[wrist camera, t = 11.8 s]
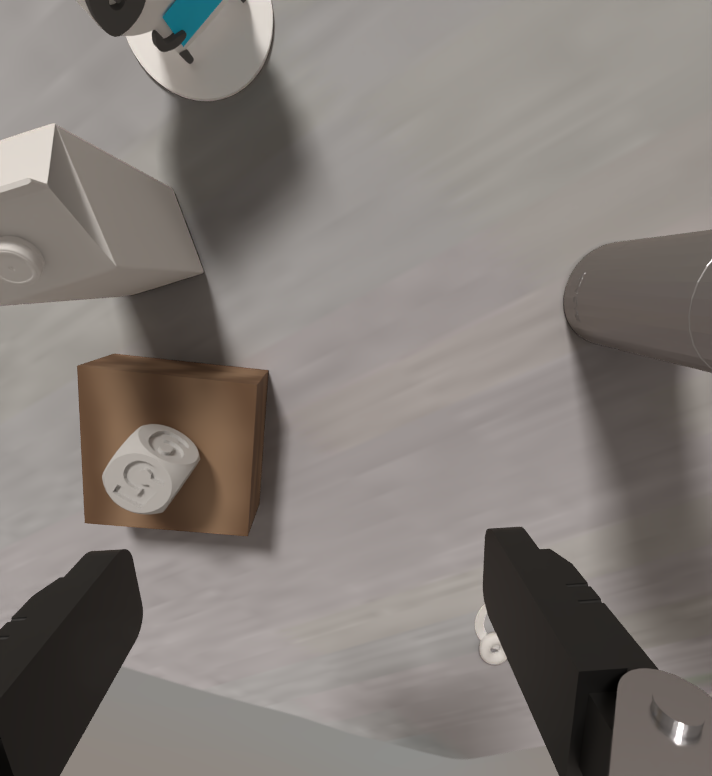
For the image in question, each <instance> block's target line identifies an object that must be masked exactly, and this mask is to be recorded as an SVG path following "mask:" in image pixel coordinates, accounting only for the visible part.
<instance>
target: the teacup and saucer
mask: <svg viewBox="0 0 712 776" xmlns="http://www.w3.org/2000/svg"><path fill="white" fill-rule="evenodd" d="M486 614H487V610H486V606H485V604H484V605H483V606H482V607H481V609H480V610H479V612H478V614H477V616H476V619H475V631H476V634H477V636H478V638H479V639H480V640H481V642H480V646H479V651H480V655H481V657H482V659H483V660H484V661H485V662H487V663H488V664H492V665H497V664H501V663H503V662H504V661H505V660H506V659H507V657H506V655H505V652H504V650H503V648H502V646H501V643H500V641H499V639H498V637H497V634H496V632H492V633H489V634H487V633H486V631H485V628H484V619H485V616H486ZM491 648H493V649H496V650H497V651H496V652H491V651H490V649H491Z"/></svg>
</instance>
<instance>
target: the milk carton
mask: <svg viewBox="0 0 712 776" xmlns="http://www.w3.org/2000/svg"><path fill="white" fill-rule="evenodd" d="M203 272H204V271H203V268H202V265H201V263H200V260H199V257H198V255H197V252H196V249H195V247H194V244H193V241H192V239H191V236H190V233H189V231H188V228H187V225H186V223H185V220H184V217H183V215H182V212H181V209H180V207H179V204H178V202H177V199H176V196H175V194H174V191H173V189H172V188H171V187H169V186H167V185H165V184H164V183H162V182H160V181H158V180H156V179H154V178H153V177H151V176H149V175H147V174H145V173H144V172H142V171H140V170H138V169H136V168H134V167H133V166H131V165H129V164H127V163H125V162H123V161H122V160H120V159H118V158H116V157H114V156H113V155H111V154H109V153H107V152H105V151H103V150H102V149H100V148H98V147H96V146H94V145H92V144H91V143H89V142H87V141H85V140H83V139H82V138H80V137H78V136H76V135H74V134H72V133H71V132H69V131H67V130H65V129H63V128H61V127H60V126H58V125H56V124H55V123H54V124H50V125H46V126H43V127H40V128H37V129H34V130H31V131H28V132H25V133H22V134H19V135H15V136H12V137H9V138H6V139H3V140H0V306H5V305H18V304H31V303H44V302H56V301H69V300H82V299H95V298H107V297H120V296H130V295H134V294H138V293H141V292H144V291H147V290H151V289H154V288H157V287H160V286H164V285H167V284H170V283H173V282H177V281H180V280H183V279H186V278H190V277H193V276H196V275H199V274H202V273H203Z"/></svg>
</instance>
